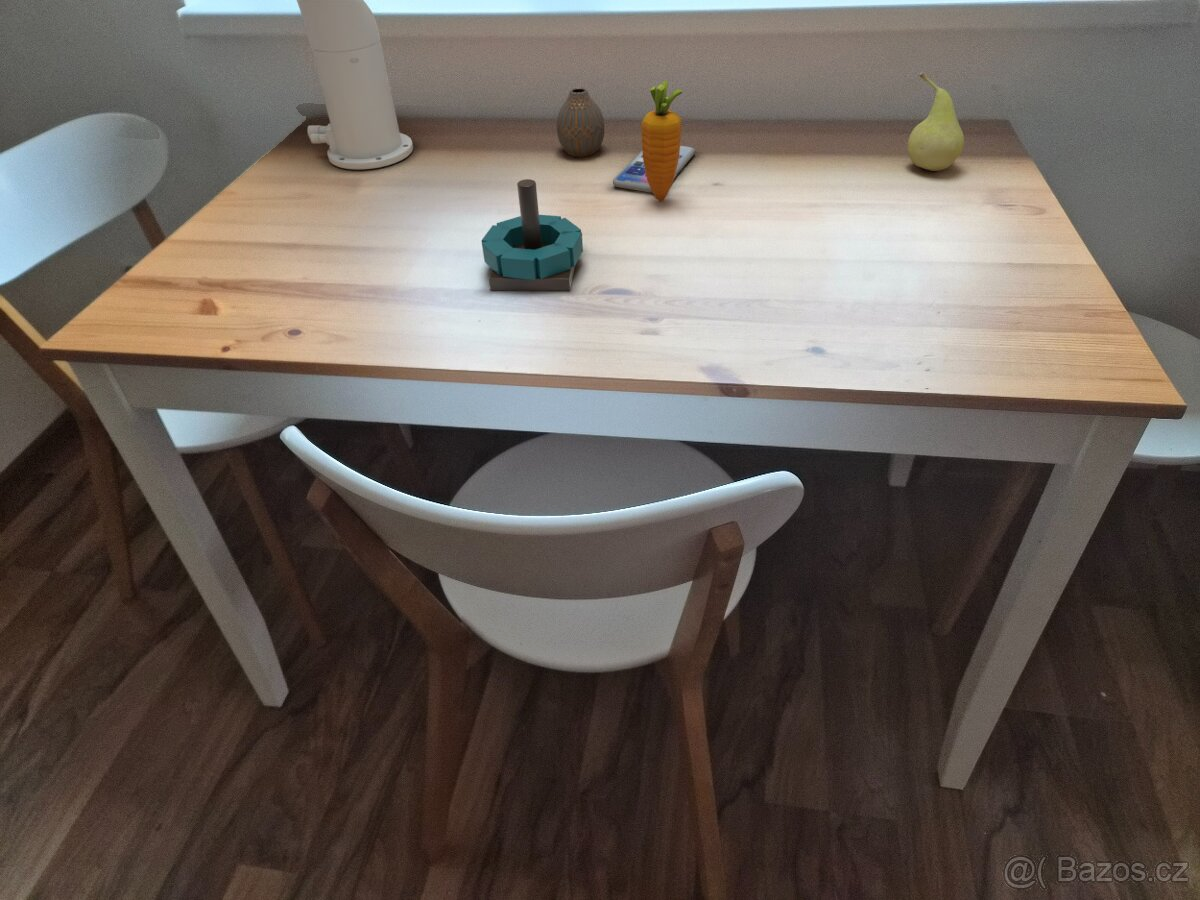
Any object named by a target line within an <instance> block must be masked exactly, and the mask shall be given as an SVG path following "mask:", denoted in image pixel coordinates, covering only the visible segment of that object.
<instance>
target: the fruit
mask: <svg viewBox="0 0 1200 900" xmlns="http://www.w3.org/2000/svg"><path fill="white" fill-rule="evenodd" d="M918 76H919V77H920V78H921V79H922V80H923V81H924V82H926V83H928V84H929V85H930V86H931V87H932V88H933V90H934V92H935V95H934V96H935V97H934V101H933V104H932V107H931V109H930V111H929V114H928V116H927V117H926V118H925V119H924V120H922V121H921V122H920V123H918V124H916V126H915V127H914V128H913V129H912V131H911V133H910V135H909V137H908V139H907V144H906V145H907V146H906V150H907V155H908V157H909V159H910V161H911V162H912V164H914V165H915V166H917V167H918V168H921V170H923V169H924V170H928V171H930V172H939V171H943V170H945V169H947V168H948V167H950V166H951V165H953V164H954V163H955V162H956V161H957V159H958V158H959V157H960V156H961V154H962V151H963V149H964V144H965V136H964V132H963V130H962V128H961V125H960V124H959V120H958V117H957V115H956V111H955V106H954V102H953V100H952V97H951V95H950V94H949V92H948V91H947V90H946V89H945V88H943V87H939V86H938V85H937V84H936V83H934V82H933V80H931V79H930V78H929V77H928V76H927V75H926V74H925V73H924V72H923V71H920V72H919V74H918Z"/></svg>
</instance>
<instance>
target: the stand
mask: <svg viewBox="0 0 1200 900" xmlns="http://www.w3.org/2000/svg"><path fill="white" fill-rule="evenodd" d="M516 186H517V187H516V188H517V195H518V203H519V212H520V216H521V222H522V231H523V240H524V244H523V245H520V246H517V247H513V248H520V249H532V250H535V249H539V248H542V247H545V246H548V245H551V244H549V243H542V241H541V231H540V221H539V215H540V211H539V201H538V193H537V191H538V190H537V182H536V181H535V180H534V179H531V178H526V179H521V180H519V181H517V183H516ZM575 268H576V266H575V267H571V269H570V270H567V271H564V272H561V273H558V274H555V275H552V276H549V277H546V278H543V279H540V278H539V277H538V276H537V278H536V280H531V279H520V278H509V277H503V274H501V275H498V274H497V273H496V272H495V271H494V270H493V269H492V268H491V271H490V274H489V277H488V282H489V283H488V284H489V289H490V290H489V291H555V292H556V291H557V292H559V291H561V292H562V291H563V292H564V291H565V292H566V291H569V292H570V291H571V287H572V283H573V279H574V272H575Z"/></svg>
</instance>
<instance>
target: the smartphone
mask: <svg viewBox="0 0 1200 900" xmlns="http://www.w3.org/2000/svg"><path fill="white" fill-rule="evenodd" d="M695 154H696V149H695V148H694V147H692V146H687V145H681V144H680V154H679V159H678V165H677V169H676V173H675V177H676V176H677V175H678V174H679V173H680V172H681V171H682V169H683V168H684V167H685V166H686V165H687V164H688V162H689V161H690V160H691V159H692V158H693V156H694V155H695ZM612 184H613V185H614V187H617V188H620V189H628V190H634V191H641V192H646V193H652V194H653V192H652V190H651V188H650V186H649V183H648V180H647V176H646V172H645V167H644V161H643V152H642V150H641V151H640V152H638V154H637V155H636V156H635V157H633V159H631V161H630V162H629V163H628V164H627V165H626V166H625V167H624V168H623V169H622V170H621V171H620V172H619V173H618V174H617V175H616V176H615V177H614V178H613V180H612Z"/></svg>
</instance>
